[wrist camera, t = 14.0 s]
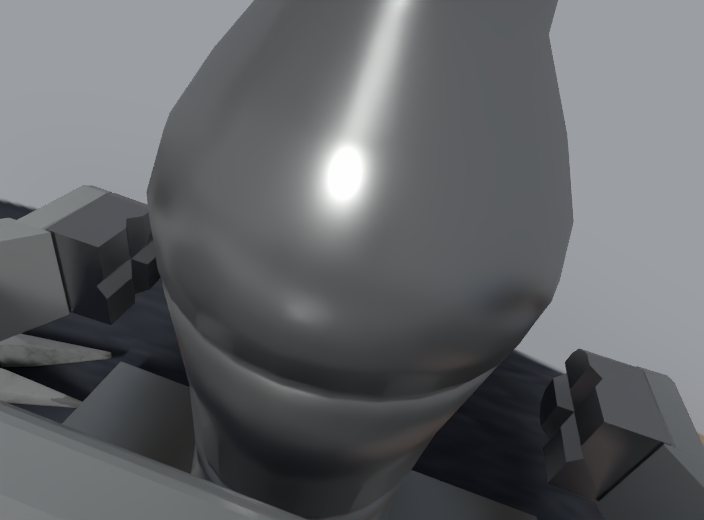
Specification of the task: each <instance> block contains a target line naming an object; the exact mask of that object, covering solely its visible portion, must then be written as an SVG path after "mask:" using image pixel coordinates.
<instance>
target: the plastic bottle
mask: <svg viewBox="0 0 704 520" xmlns="http://www.w3.org/2000/svg"><path fill="white" fill-rule="evenodd" d="M557 2H558V0H254V1H253V3H252V4H251V5H250V6H249V7H248V8H247V10H246V11H245V12H244V13H243V14H242V15H241V17H240V18H239V19H238V20H237V21H236V22H235V24H234V25H233V26H232V27H231V28H230V30H229V31H228V32H227V33H226V34H225V35H224V37H223V38H222V39H221V40H220V41H219V43H218V44H217V45H216V46H215V47H214V49H213V50H212V51H211V53H210V54H209V56H208V57H207V59H206V60H205V62H204V63H203V65H202V66H201V68H200V69H199V71H198V72H197V73H196V75H195V76H194V78H193V79H192V81H191V82H190V84H189V85H188V87H187V88H186V90H185V91H184V93H183V94H182V96H181V97H180V99H179V100H178V102H177V103H176V105H175V106H174V108H173V109H172V110H171V112H170V114H169V117H168V120H167V122H166V125H165V128H164V131H163V134H162V138H161V142H160V145H159V149H158V153H157V156H156V160H155V163H154V167H153V171H152V175H151V178H150V181H149V185H148V189H147V201H148V211H149V220H150V225H151V231H152V236H153V241H154V248H155V255H156V262H157V268H158V272H159V274H160V276H161V278H162V282H163V289H164V293H165V296H166V300H167V304H168V307H169V311H170V315H171V318H172V322H173V326H174V330H175V333H176V337H177V341H178V344H179V348H180V352H181V355H182V359H183V363H184V366H185V370H186V374H187V377H188V381H189V387H190V397H191V407H192V414H193V422H194V423H193V425H194V434H195V449H194V456H193V463H192V470H191V474H192V475H194V476H197V477H200V478H202V479H205V480H207V481H210V482H212V483H215V484H218V485H220V486H223V487H225V488H228V489H230V490H233V491H236V492H238V493H241V494H243V495H246V496H248V497H251V498H254V499H256V500H259V501H261V502H264V503H266V504H269V505H272V506H274V507H277V508H279V509H282V510H284V511H287V512H290V513H292V514H295V515H297V516H300V517H302V518H305V519H308V520H386V519H387V517H388V514H389V511H390V509H391V506H392V503H393V500H394V498H395V495H396V492H397V490H398V488H399V487H400V485H401V484H402V482H403V481H404V479H405V477H406V475H407V474H408V473H409V472H410V471H411V469H412V468H413V466H414V465H415V463H416V462H417V460H418V459H419V457H420V456H421V454H422V453H423V451H424V450H425V448H426V447H427V446H428V444H429V443H430V441H431V440H432V438H433V437H434V435H435V434H436V433H437V431H438V430H439V429H440V428H441V427H442V426H443V425H444V424H445V423H446V422H447V421H448V420H449V418H450V417H451V416H452V415H453V414H454V413H455V412H456V411H457V410H458V409H459V408H460V407H461V405H462V404H463V403H464V402H465V401H466V400H467V399H468V398H469V397H470V396H471V395H472V394H473V392H474V391H475V390H476V389H477V388H478V387H479V386H480V385H481V384H482V383H483V382H484V381H485V379H486V378H487V377H488V376H489V375H490V374H491V373H492V372H493V371H494V370H495V369H496V368H497V366H498V365H499V364H501V363H502V362H503V360H504V359H505V358H506V357H507V356H508V355H509V354H510V353H511V352H512V351H513V350H514V349H515V348H516V347H517V345H519V343H520V342H521V341H522V339H523V338H524V336H525V335H526V334H527V333H528V331H529V330H530V328H531V327H532V326H533V324H534V323H535V322H536V320H537V319H538V318H539V316H540V315H541V314H542V313H543V311H544V310H545V309H546V308H547V306H548V305H549V304H550V303H551V301H552V298H553V296H554V293H555V291H556V288H557V285H558V283H559V281H560V277H561V272H562V268H563V264H564V260H565V255H566V251H567V247H568V243H569V238H570V234H571V230H572V226H573V210H572V195H571V182H570V167H569V153H568V140H567V132H566V126H565V121H564V116H563V110H562V105H561V99H560V94H559V88H558V83H557V77H556V72H555V66H554V61H553V56H552V51H551V45H550V39H549V31H550V28H551V24H552V20H553V16H554V13H555V9H556V6H557Z"/></svg>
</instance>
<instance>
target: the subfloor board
mask: <svg viewBox="0 0 704 520" xmlns="http://www.w3.org/2000/svg"><path fill="white" fill-rule="evenodd" d="M193 423H194V422H193V414H192V407H191V397H190V387H188V386H185V385H183V384H180V383H177V382H175V381H172V380H169V379H167V378H164V377H161V376H159V375H156V374H153V373H150V372H148V371H145V370H142V369H140V368H137V367H134V366H132V365H129V364H126V363H124V362H120V363H119V364H118V365H117V366H116V367H115V368H114V369H113V370H112V371H111V373H110V374H109V375H108V376H107V377H106V378H105V379H104V380H103V381H102V382H101V383H100V384H99V385H98V386H97V387H96V388H95V389H94V391H93V392H92V393H91V394H90V395H89V396H88V397H87V398H86V399H85V400H84V401H83V402H82V403H81V404H80V405H79V406H78V407H77V409H76V410H75V411H74V412H73V413H72V414H71V415H70V416H69V417H68V418H67V419H66V420H65V421H64V422H63V423H62V424H63V425H65V426H68V427H70V428H73V429H76V430H78V431H81V432H83V433H86V434H89V435H91V436H94V437H96V438H99V439H101V440H104V441H107V442H109V443H112V444H114V445H117V446H120V447H122V448H125V449H127V450H130V451H132V452H135V453H138V454H140V455H143V456H145V457H148V458H151V459H153V460H156V461H158V462H161V463H163V464H166V465H169V466H171V467H174V468H176V469H179V470H181V471H184V472H187V473H189V474H191V470H192V463H193V456H194V449H195V434H194V425H193ZM386 520H537V517H536V516H533V515H530V514H528V513H525V512H522V511H520V510H517V509H514V508H512V507H509V506H506V505H504V504H501V503H498V502H496V501H493V500H490V499H488V498H485V497H482V496H480V495H477V494H474V493H472V492H469V491H466V490H464V489H461V488H458V487H456V486H453V485H450V484H448V483H445V482H442V481H439V480H437V479H434V478H431V477H429V476H426V475H423V474H421V473H418V472H415V471H413V470H411V471H410V472H409V473H408V474H407V475H406V477H405V479H404V481H403V482H402V484H401V485H400V487H399V488H398V490H397V492H396V495H395V498H394V500H393V503H392V506H391V509H390V511H389V514H388V517H387V519H386Z"/></svg>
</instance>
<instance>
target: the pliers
mask: <svg viewBox="0 0 704 520" xmlns="http://www.w3.org/2000/svg"><path fill="white" fill-rule="evenodd" d="M111 357H112V355H111V352H107V351H102V350H97V349H93V348H88V347H83V346H78V345H73V344H68V343H63V342H58V341H54V340H49V339H44V338H39V337H34V336H29V335H24V334H18V335H15V336H13V337H10V338H8V339H5V340H3V341H0V365H1V367H33V366H43V365H52V364H62V363H72V362H81V361H91V360H100V359H110V358H111ZM0 400H1V401H3V402H6V403H19V404H33V405H46V406H60V407H73V408H77V407H78V406H79V405H80V404H81V403H82V401H80V400H77V399H75V398H72V397H70V396H68V395H65V394H63V393H60V392H58V391H56V390H53V389H51V388H48V387H46V386H44V385H41V384H39V383H36V382H34V381H32V380H29V379H27V378H24V377H22V376H20V375H17V374H15V373H12V372H10V371H8V370H5V369H2V368H0Z"/></svg>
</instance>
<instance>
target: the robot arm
mask: <svg viewBox="0 0 704 520" xmlns="http://www.w3.org/2000/svg"><path fill="white" fill-rule="evenodd" d="M160 277H161V276H160V274H159V272H158V268H157V262H156V255H155V248H154V241H153V236H152V231H151V225H150V220H149V211H148V205H147V204H144V203H141V202H138V201H135V200H132V199H130V198H127V197H124V196H121V195H119V194H115V193H112V192H109V191H107V190H104V189H101V188H97V187H95V186H81V187H79V188H77V189H75V190H73V191H72V192H70V193H68V194H66V195H64V196H62V197H60V198H58V199H56V200H54V201H52V202H51V203H49V204H47V205H45V206H43V207H41V208H39V209H37V210H35V211H33V212H31V213H30V214H28V215H26V216H24V217H22V218H20V219H18V220H14V219H11V218H4V219H0V341H3V340H5V339H8V338H10V337H13V336H15V335H18V334H20V333H23V332H25V331H28V330H30V329H33V328H35V327H38V326H40V325H43V324H46V323H48V322H51V321H53V320H56V319H58V318H61V317H63V316H66V315H68V314H70V312H73V313H76V314H79V315H82V316H85V317H88V318H91V319H94V320H97V321H100V322H103V323H106V324H109V325H112V324H113V323H114V322H115V321H116V320H117V319H118V318H119V317H121V316H122V315H123V314H124V313H125V312H126V311H127V310H128V309H129V308H130V307H131V306H132V305H133V304H134V303H135V294H136V293H139V292H143V291H146V290H149V289H150V288H151V287H152V286H153V285H154V284H155V283H156V282H157V281H158V280H159V278H160ZM565 366H566V371H567V373H566V374H564V375H561V376H558V377H555V378H553V379H552V381H551V382H550V384H549V385H548V387H547V388H546V390H545V392H544V395H543V398H542V401H541V406H540V423H541V428H542V429H543V430H544V432H545V433H546V435H547V436H548V437H549V439H550V441H549V442H548V443H547V444H546V446H545V447H544V448H543V450H544V459H545V467H546V475H547V483H549V484H552V485H554V486H557V487H559V488H562V489H564V490H567V491H570V492H572V493H575V494H577V495H580V496H582V497H585V498H587V499H590V500H593V501H595V502H598V503H597V504H596V505H597V507H598V509H599V511H600V512H601V514H602V516H603V517H604V519H605V520H704V447H703V445H702V443H701V440H700V438H699V436H698V434H697V432H696V429H695V427H694V425H693V423H692V421H691V418H690V416H689V414H688V412H687V410H686V407H685V405H684V403H683V401H682V398H681V396H680V394H679V392H678V390H677V387H676V385H675V383H674V382H673V381H672V380H671V379H670V378H669V377H668V376H666V375H663V374H660V373H657V372H653V371H650V370H647V369H644V368H640V367H634V366H631V365H628V364H625V363H622V362H619V361H615V360H613V359H610V358H606V357H603V356H600V355H597V354H594V353H591V352H588V351H585V350H582V349H578V350H576V351H575V352H573V353H572V354H571V355H570V357H569V358H568V359H567V360H566V362H565ZM0 520H308V519H305V518H302V517H300V516H297V515H295V514H292V513H290V512H287V511H284V510H282V509H279V508H277V507H274V506H272V505H269V504H266V503H264V502H261V501H259V500H256V499H254V498H251V497H248V496H246V495H243V494H241V493H238V492H236V491H233V490H230V489H228V488H225V487H223V486H220V485H218V484H215V483H212V482H210V481H207V480H205V479H202V478H200V477H197V476H194V475H192V474H189V473H187V472H184V471H181V470H179V469H176V468H174V467H171V466H169V465H166V464H163V463H161V462H158V461H156V460H153V459H151V458H148V457H145V456H143V455H140V454H138V453H135V452H132V451H130V450H127V449H125V448H122V447H120V446H117V445H114V444H112V443H109V442H107V441H104V440H101V439H99V438H96V437H94V436H91V435H89V434H86V433H83V432H81V431H78V430H76V429H73V428H70V427H68V426H65V425H63V424H60V423H58V422H55V421H52V420H50V419H47V418H45V417H42V416H40V415H37V414H34V413H32V412H29V411H27V410H24V409H21V408H19V407H16V406H14V405H11V404H9V403H6V402H3V401H1V400H0Z"/></svg>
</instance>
